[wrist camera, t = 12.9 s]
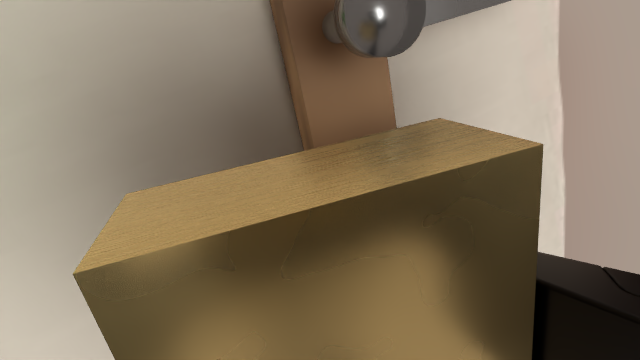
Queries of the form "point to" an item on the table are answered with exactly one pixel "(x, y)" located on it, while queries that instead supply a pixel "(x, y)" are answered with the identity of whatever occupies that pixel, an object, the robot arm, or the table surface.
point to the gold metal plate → (330, 254)
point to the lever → (394, 22)
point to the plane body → (330, 77)
